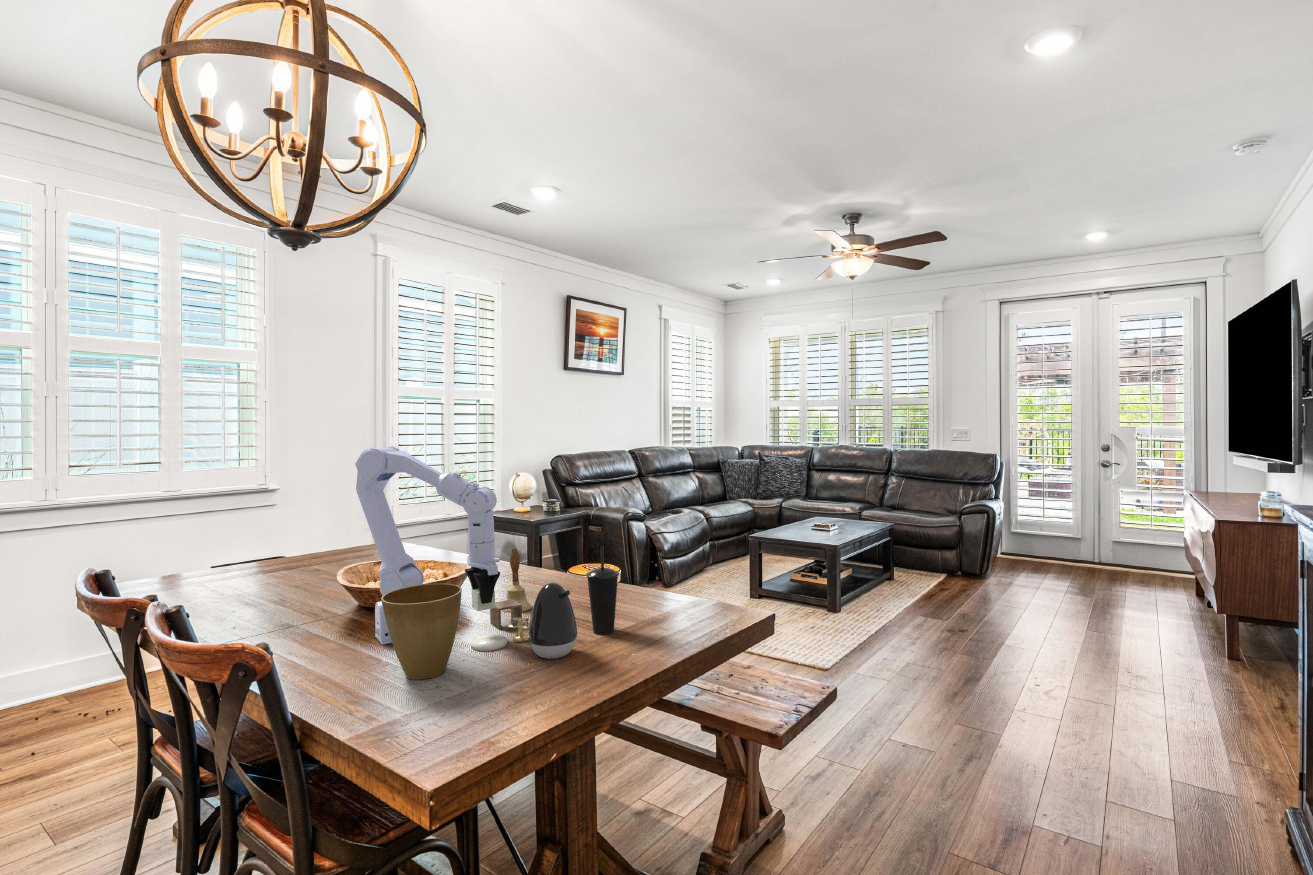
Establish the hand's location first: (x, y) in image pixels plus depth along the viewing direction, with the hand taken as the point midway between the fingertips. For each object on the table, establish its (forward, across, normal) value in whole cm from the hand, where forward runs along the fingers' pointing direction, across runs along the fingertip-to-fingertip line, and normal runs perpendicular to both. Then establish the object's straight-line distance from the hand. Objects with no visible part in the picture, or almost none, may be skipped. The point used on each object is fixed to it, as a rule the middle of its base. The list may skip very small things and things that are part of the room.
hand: (483, 600), depth 149 cm
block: (+2, 0, 0) cm, 2 cm away
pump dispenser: (+9, -20, -8) cm, 23 cm away
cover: (+8, +6, -8) cm, 13 cm away
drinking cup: (+9, -13, -24) cm, 29 cm away
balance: (+8, -7, -6) cm, 12 cm away
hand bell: (+9, +18, -15) cm, 25 cm away
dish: (+8, -6, +1) cm, 10 cm away
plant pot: (+9, -14, +17) cm, 23 cm away
